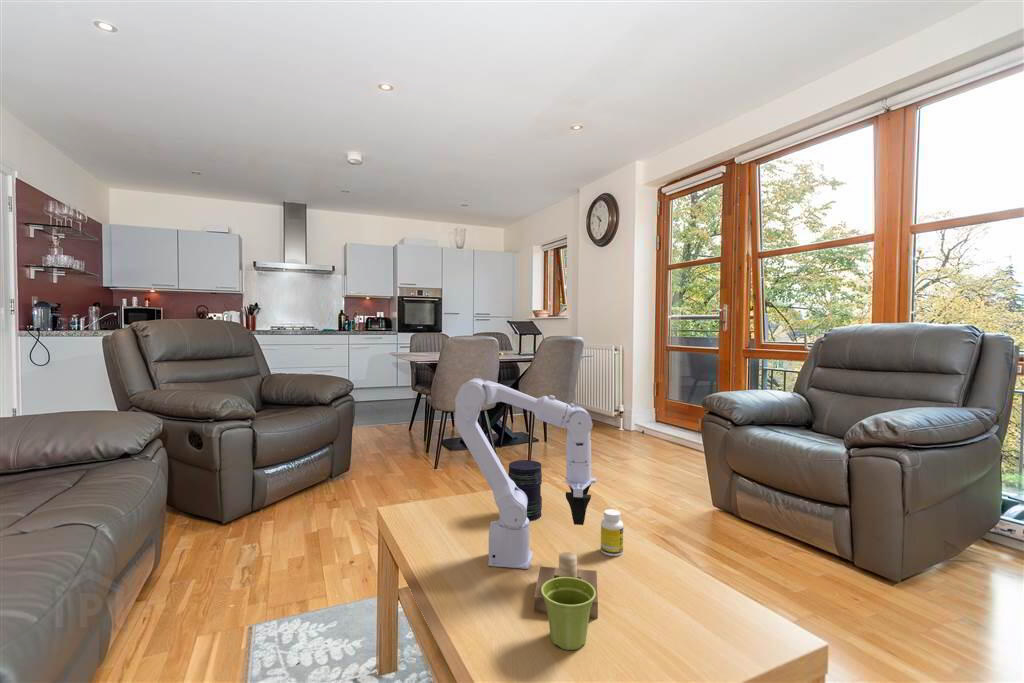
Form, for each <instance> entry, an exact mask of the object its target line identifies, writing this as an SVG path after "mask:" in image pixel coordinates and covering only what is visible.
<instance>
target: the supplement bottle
mask: <svg viewBox="0 0 1024 683" xmlns="http://www.w3.org/2000/svg"><path fill="white" fill-rule="evenodd" d="M621 515H622V514H621V511H619V510H617V509H612V508H610V509H609V508H608V509H605V510H604V511H603V519H602V520H601V522H600V551H601V553H602V554H604V555H605V556H608V557H609V556H610V557H619V556H621V555H622V554H623V553H624V523H623V520H621V517H622V516H621Z"/></svg>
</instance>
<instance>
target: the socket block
mask: <svg viewBox="0 0 1024 683" xmlns="http://www.w3.org/2000/svg"><path fill="white" fill-rule="evenodd" d="M597 573H598V572H597V570H590V569H579V568H577V578H578V579H581V580H584V581H586V582H588V583H589V584H591V585H592V586H593V587H594V589H595V592H596V595H595V598H594V600H593V602H592V606H591V608H590V614H589V619H590V618H593V619H599V615H598V614H599V600H598V599H599V595H598V594H599V593H598V575H597ZM558 577H559V567H554V566H553V567H552V566H542V565H541V566H540V567H539V572H538V576H537V582H536V586H535V591H534V595H533V597H534V598H533V604H534V605H533V609H534V610H533V611H534V612H533V613H536V614H537V613H539V614H547V615H548V613H547V606H546V603H545V600H544V597H543V595H542V592H541V588H542V586H543V584H544V583H545V582H547V581H549V580H551V579H554V578H558Z"/></svg>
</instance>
